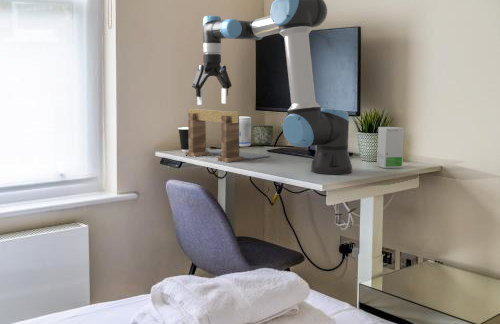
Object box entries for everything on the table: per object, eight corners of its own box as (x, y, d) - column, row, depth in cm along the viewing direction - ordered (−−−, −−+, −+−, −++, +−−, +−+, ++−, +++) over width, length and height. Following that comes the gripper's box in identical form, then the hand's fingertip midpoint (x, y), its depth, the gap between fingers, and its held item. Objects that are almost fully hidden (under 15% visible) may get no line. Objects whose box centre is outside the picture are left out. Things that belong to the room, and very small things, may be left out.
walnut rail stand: (243, 160, 233) (243, 115, 230) (227, 162, 227) (227, 116, 224) (200, 153, 252) (200, 112, 250) (185, 155, 246) (184, 112, 243)
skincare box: (384, 168, 211) (385, 128, 208) (375, 166, 217) (377, 126, 215) (403, 167, 213) (405, 127, 211) (394, 165, 219) (396, 126, 217)
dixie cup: (190, 152, 256) (190, 128, 254) (175, 151, 258) (175, 128, 256) (198, 150, 263) (197, 127, 261) (183, 149, 266) (182, 126, 264)
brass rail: (238, 122, 228) (238, 111, 228) (232, 123, 226) (232, 112, 225) (195, 118, 248) (195, 108, 247) (189, 119, 246) (189, 109, 245)
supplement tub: (228, 146, 278) (228, 117, 276) (237, 144, 286) (237, 115, 284) (245, 147, 274) (245, 117, 271) (254, 145, 282) (254, 116, 280)
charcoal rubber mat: (270, 156, 241) (270, 155, 241) (250, 159, 233) (250, 158, 233) (221, 150, 264) (221, 148, 264) (202, 152, 256) (202, 151, 256)
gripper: (228, 54, 244) (228, 102, 247) (183, 53, 227) (183, 104, 230) (239, 54, 239) (239, 103, 242) (194, 52, 221) (195, 105, 225)
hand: (212, 104), depth 236 cm, fingers open, 13 cm apart
